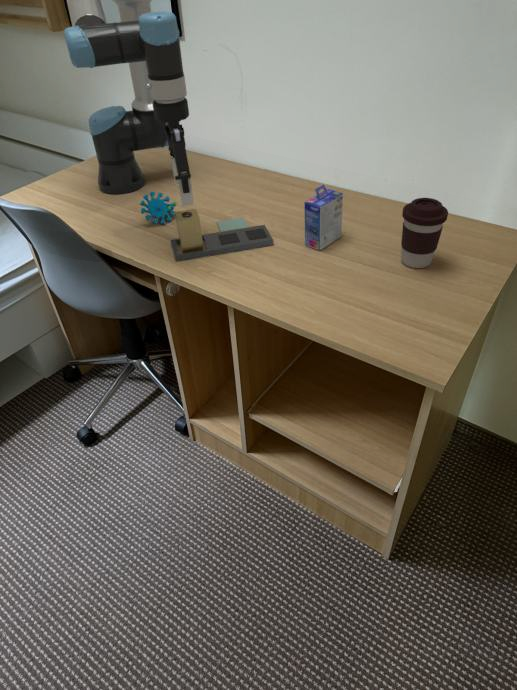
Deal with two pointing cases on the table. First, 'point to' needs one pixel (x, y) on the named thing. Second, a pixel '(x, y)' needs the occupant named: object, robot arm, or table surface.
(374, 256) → the table surface
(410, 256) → the coffee cup
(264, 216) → the table surface
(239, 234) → the rail
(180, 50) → the robot arm
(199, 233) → the wooden speaker box
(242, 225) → the translucent green panel
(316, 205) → the ink cartridge box
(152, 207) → the blue spiky knobbed toy
